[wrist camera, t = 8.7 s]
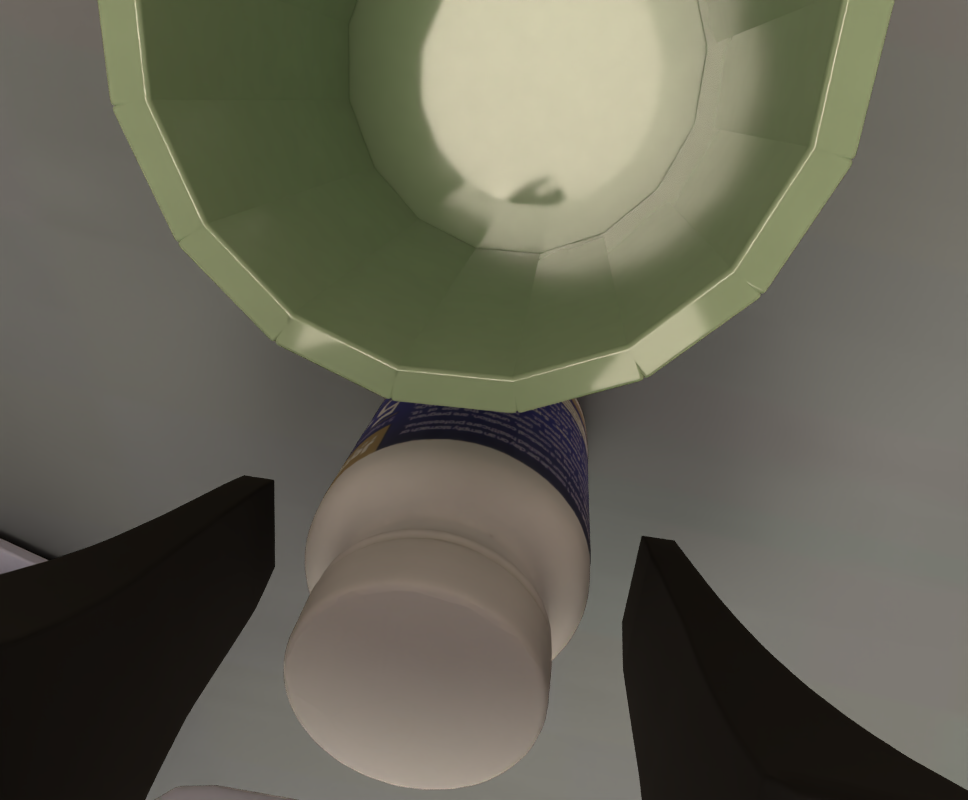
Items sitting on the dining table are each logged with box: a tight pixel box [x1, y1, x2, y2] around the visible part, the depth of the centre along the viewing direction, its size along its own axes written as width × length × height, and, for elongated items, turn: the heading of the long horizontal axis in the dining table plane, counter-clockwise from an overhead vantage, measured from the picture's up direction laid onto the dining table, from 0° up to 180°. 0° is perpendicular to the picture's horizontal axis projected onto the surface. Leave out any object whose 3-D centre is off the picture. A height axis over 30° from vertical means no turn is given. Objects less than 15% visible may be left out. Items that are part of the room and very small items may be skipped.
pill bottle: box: [284, 398, 591, 790], centre depth 15 cm, size 5×5×9 cm
